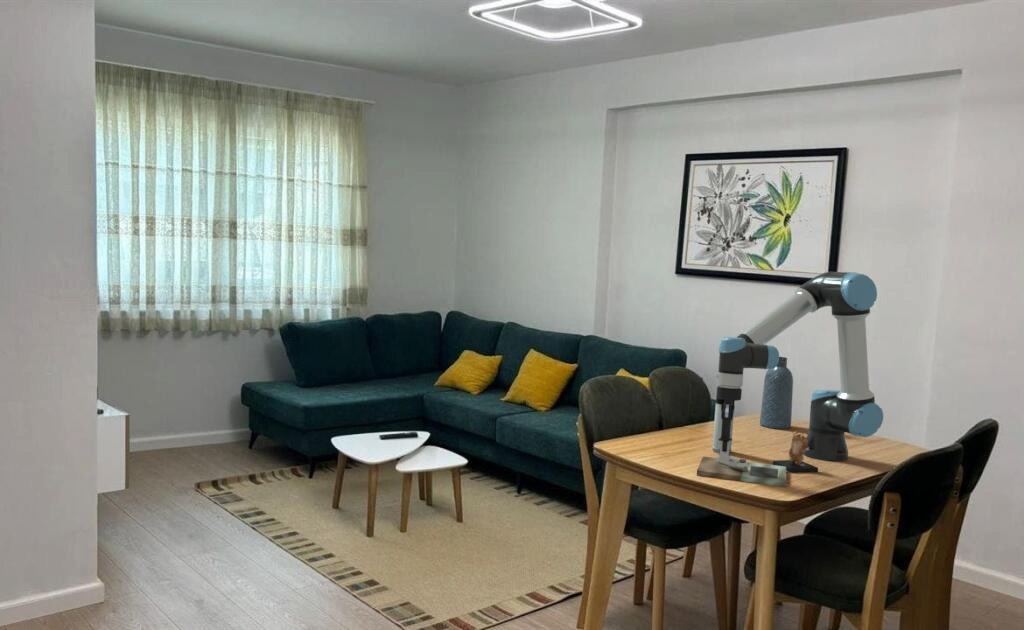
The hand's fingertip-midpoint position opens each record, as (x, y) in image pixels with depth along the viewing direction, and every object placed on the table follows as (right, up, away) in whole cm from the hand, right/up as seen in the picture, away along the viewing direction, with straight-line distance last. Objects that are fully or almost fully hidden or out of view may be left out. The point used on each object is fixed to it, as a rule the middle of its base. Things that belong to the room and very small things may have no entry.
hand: (723, 461), depth 265 cm
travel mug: (+6, -2, +28) cm, 29 cm away
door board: (+5, -4, -1) cm, 7 cm away
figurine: (+25, -4, +9) cm, 27 cm away
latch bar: (+3, -2, 0) cm, 3 cm away
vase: (+41, 0, +79) cm, 89 cm away
